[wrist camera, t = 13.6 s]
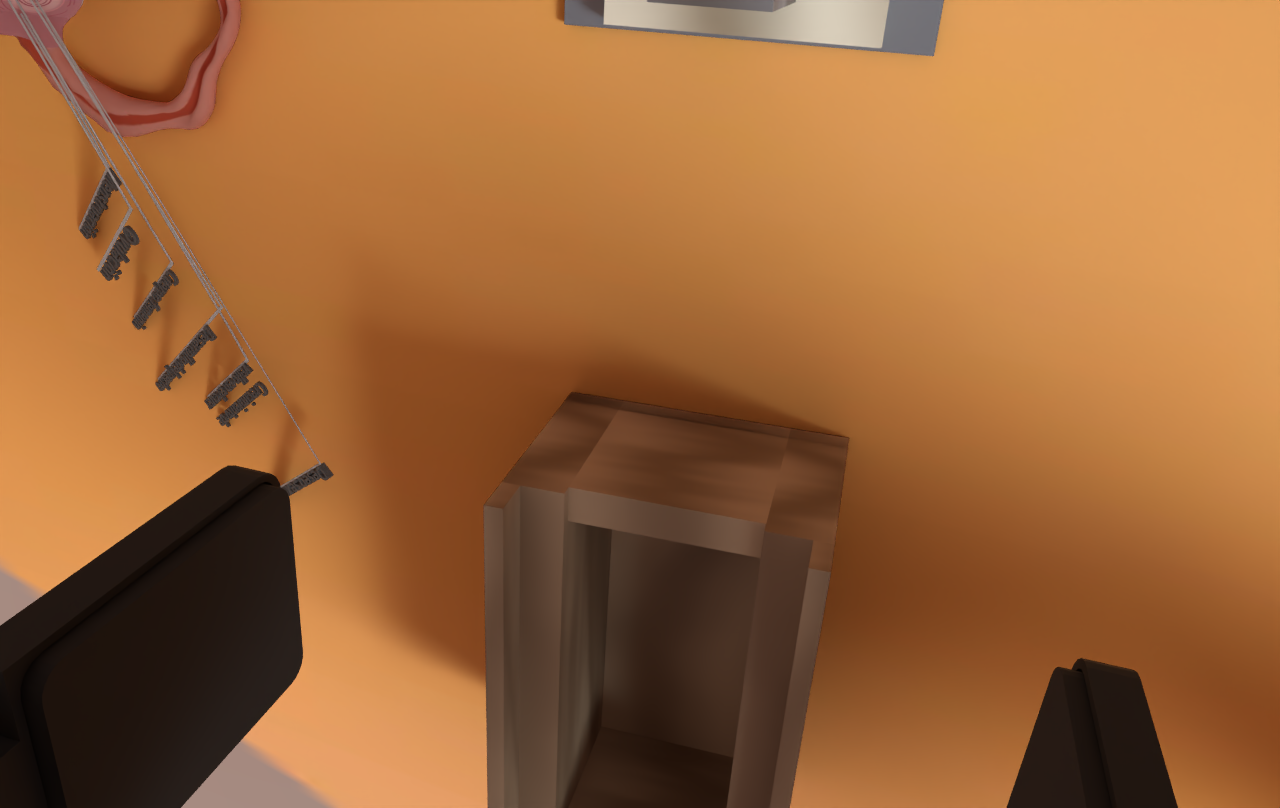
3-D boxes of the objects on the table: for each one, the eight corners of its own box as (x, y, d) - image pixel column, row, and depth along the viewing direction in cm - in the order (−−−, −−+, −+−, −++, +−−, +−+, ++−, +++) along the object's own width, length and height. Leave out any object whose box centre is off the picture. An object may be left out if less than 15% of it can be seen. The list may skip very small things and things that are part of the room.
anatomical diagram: (-207, -417, 23) (427, 436, 27) (129, -410, 29) (609, 294, 33) (-187, 49, 38) (217, 547, 43) (29, -7, 44) (365, 437, 48)
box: (849, 438, 33) (831, 572, 26) (790, 778, 40) (763, 958, 33) (571, 392, 35) (483, 505, 28) (561, 723, 42) (488, 882, 35)
